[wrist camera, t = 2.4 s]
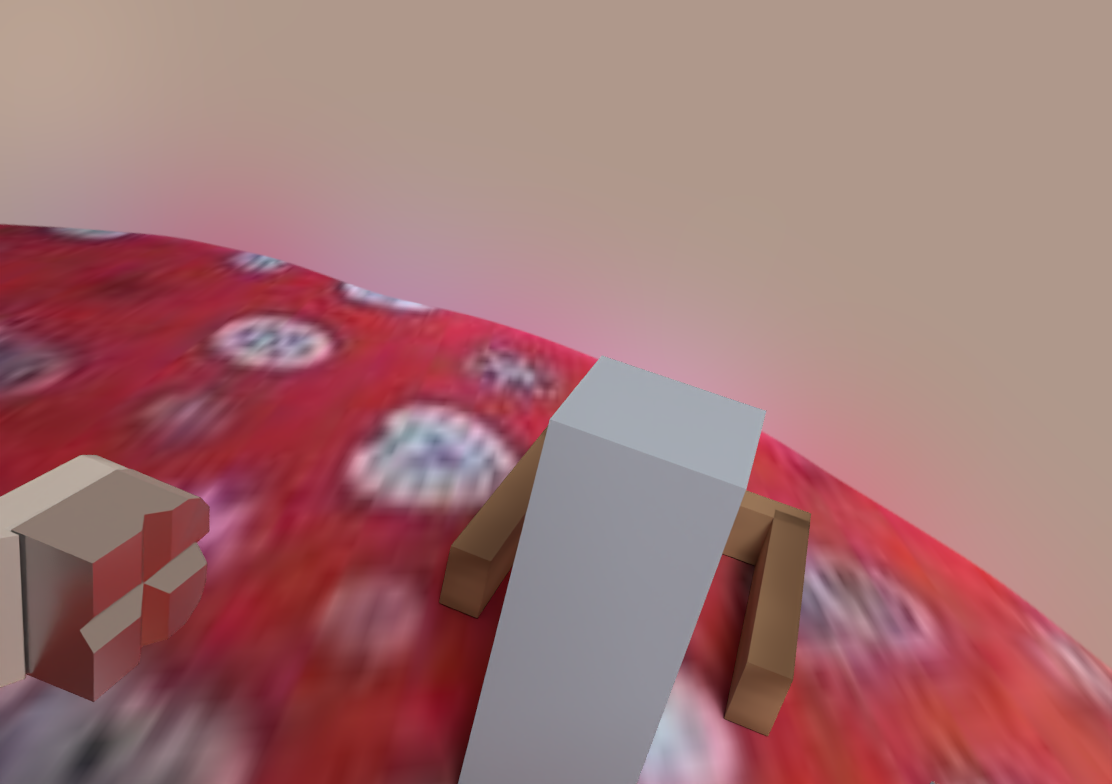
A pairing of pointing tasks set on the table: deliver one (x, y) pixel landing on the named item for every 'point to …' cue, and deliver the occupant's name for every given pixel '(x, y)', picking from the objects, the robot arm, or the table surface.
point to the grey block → (609, 576)
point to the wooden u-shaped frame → (755, 538)
